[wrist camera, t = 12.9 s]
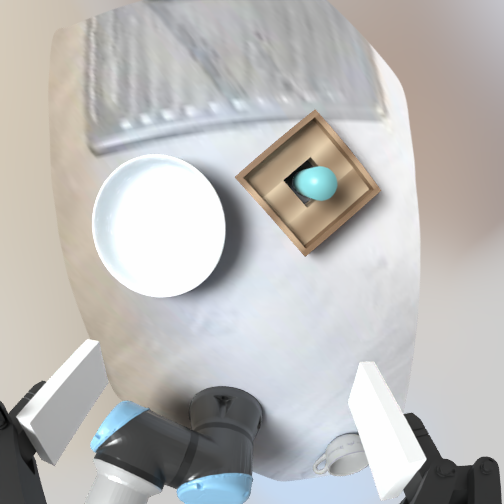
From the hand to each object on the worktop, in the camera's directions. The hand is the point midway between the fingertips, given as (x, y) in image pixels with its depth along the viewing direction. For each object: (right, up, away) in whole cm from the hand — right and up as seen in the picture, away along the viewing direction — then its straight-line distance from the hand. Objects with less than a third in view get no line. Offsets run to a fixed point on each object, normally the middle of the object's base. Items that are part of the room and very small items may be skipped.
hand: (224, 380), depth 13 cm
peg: (+10, +17, +31) cm, 37 cm away
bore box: (+9, +17, +31) cm, 37 cm away
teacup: (+22, -40, +45) cm, 64 cm away
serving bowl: (-12, +11, +34) cm, 38 cm away
